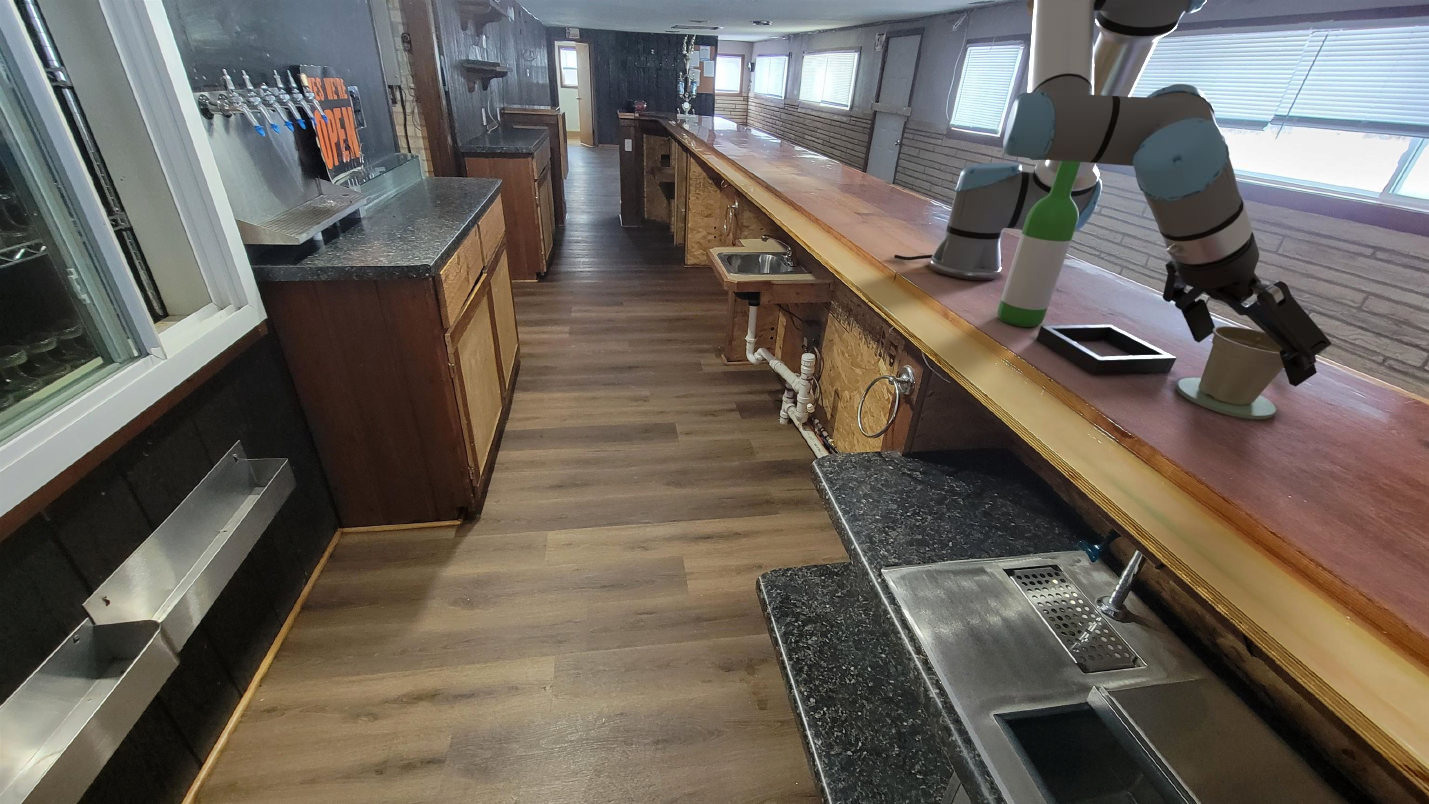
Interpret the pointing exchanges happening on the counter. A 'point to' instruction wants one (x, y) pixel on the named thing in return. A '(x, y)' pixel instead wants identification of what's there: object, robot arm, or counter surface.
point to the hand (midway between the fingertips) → (1250, 355)
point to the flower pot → (1240, 365)
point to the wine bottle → (1041, 252)
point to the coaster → (1250, 411)
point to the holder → (1140, 361)
